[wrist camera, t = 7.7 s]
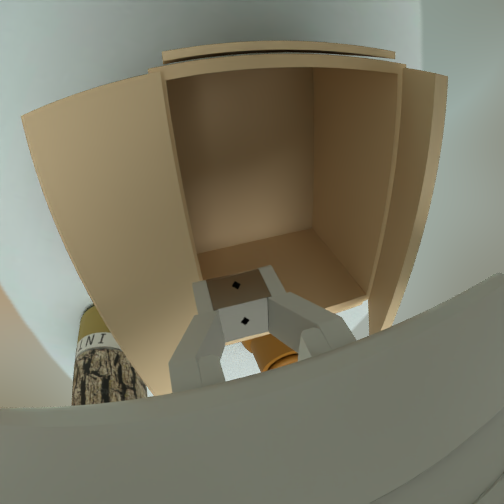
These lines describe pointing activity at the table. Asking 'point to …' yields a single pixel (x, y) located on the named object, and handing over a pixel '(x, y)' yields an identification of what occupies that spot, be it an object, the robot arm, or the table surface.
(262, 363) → the ornamental finial
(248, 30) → the table surface
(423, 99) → the flap far
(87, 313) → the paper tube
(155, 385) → the flap near
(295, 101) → the carton
